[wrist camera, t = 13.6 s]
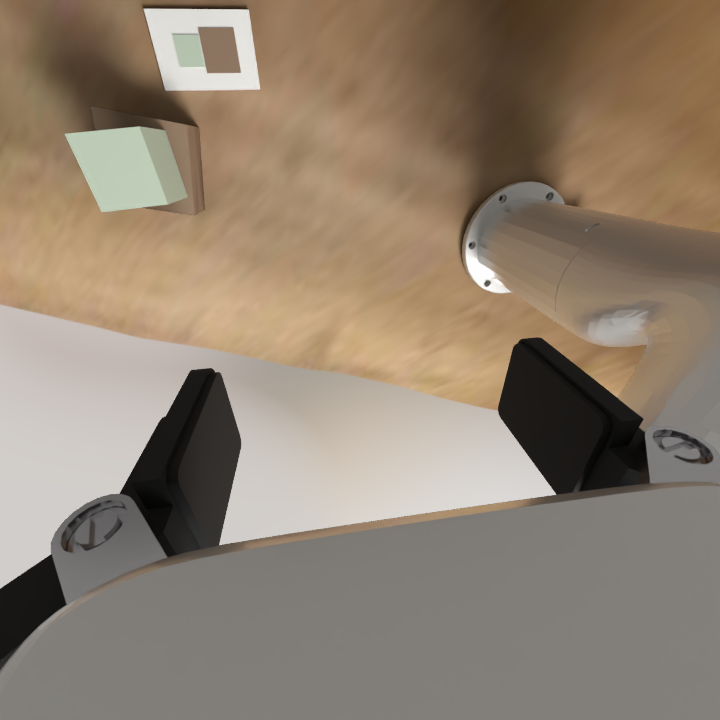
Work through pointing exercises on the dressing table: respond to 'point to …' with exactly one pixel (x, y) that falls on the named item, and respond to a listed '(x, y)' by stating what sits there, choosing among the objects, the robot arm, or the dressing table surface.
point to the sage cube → (128, 167)
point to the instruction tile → (204, 49)
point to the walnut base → (183, 148)
